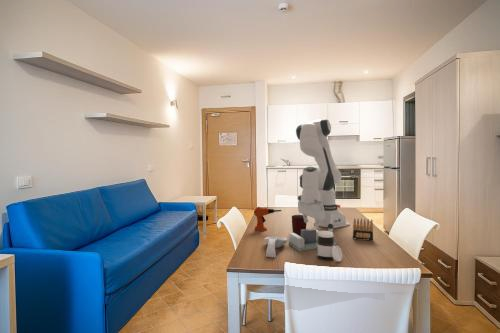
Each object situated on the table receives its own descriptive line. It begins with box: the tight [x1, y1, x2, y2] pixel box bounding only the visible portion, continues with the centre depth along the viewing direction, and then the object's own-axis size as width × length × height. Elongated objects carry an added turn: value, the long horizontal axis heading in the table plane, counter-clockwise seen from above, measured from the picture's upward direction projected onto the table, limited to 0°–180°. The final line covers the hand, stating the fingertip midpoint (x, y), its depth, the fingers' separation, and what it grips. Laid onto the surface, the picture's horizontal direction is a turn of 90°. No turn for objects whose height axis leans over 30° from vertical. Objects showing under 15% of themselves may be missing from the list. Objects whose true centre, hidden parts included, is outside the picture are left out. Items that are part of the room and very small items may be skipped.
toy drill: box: [253, 206, 282, 232], centre depth 180 cm, size 5×19×15 cm, turn 67°
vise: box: [288, 232, 337, 252], centre depth 153 cm, size 22×11×6 cm, turn 109°
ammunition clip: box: [352, 217, 374, 241], centre depth 163 cm, size 11×2×12 cm, turn 72°
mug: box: [291, 214, 308, 237], centre depth 173 cm, size 12×9×11 cm
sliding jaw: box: [316, 224, 335, 241], centre depth 156 cm, size 10×11×9 cm
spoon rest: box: [264, 236, 288, 258], centre depth 147 cm, size 24×12×7 cm, turn 168°
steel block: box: [301, 228, 317, 244], centre depth 152 cm, size 8×3×7 cm, turn 109°
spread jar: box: [316, 230, 343, 262], centre depth 135 cm, size 12×11×12 cm
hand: (311, 224), depth 152 cm, fingers open, 8 cm apart
